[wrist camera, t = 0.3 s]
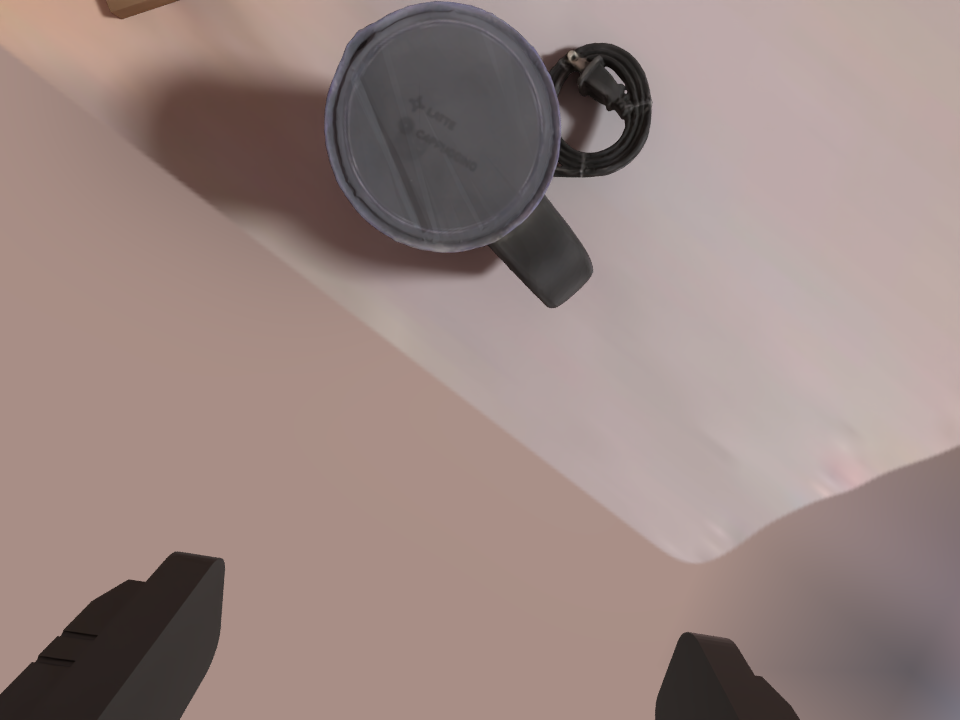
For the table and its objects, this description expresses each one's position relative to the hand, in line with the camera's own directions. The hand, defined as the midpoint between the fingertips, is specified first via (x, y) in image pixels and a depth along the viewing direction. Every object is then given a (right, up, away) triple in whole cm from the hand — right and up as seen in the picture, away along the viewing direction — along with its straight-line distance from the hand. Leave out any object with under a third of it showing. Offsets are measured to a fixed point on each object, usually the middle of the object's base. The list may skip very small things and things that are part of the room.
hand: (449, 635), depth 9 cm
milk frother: (+2, +19, +25) cm, 31 cm away
